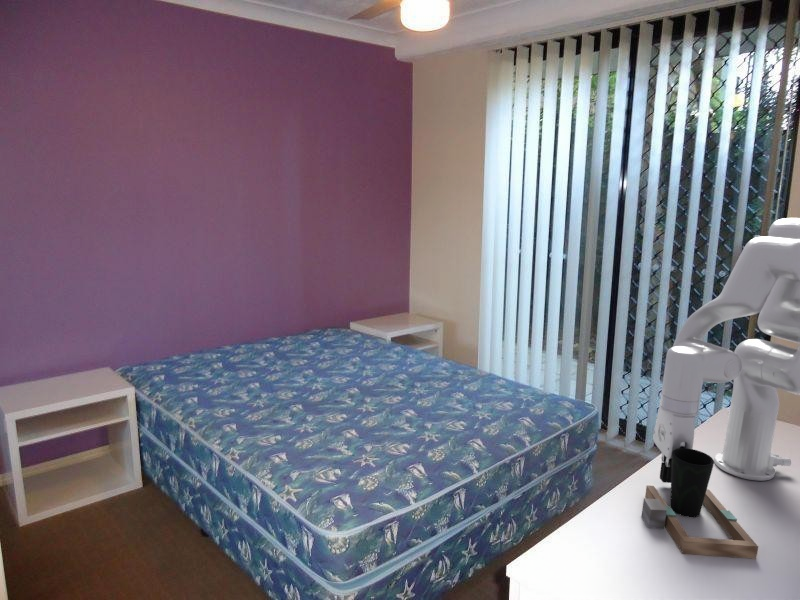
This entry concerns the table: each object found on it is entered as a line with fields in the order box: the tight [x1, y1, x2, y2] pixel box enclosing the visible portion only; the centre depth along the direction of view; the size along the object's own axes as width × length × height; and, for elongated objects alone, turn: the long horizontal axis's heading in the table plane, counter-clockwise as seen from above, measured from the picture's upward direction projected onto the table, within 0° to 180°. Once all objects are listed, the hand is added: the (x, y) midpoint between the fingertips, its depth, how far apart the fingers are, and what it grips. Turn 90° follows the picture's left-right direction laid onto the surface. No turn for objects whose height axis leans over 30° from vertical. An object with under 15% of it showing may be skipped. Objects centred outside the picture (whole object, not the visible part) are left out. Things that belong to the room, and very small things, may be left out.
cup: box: [669, 448, 715, 518], centre depth 118 cm, size 8×8×12 cm
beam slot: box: [641, 485, 759, 560], centre depth 114 cm, size 17×20×4 cm
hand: (668, 480), depth 128 cm, fingers closed
